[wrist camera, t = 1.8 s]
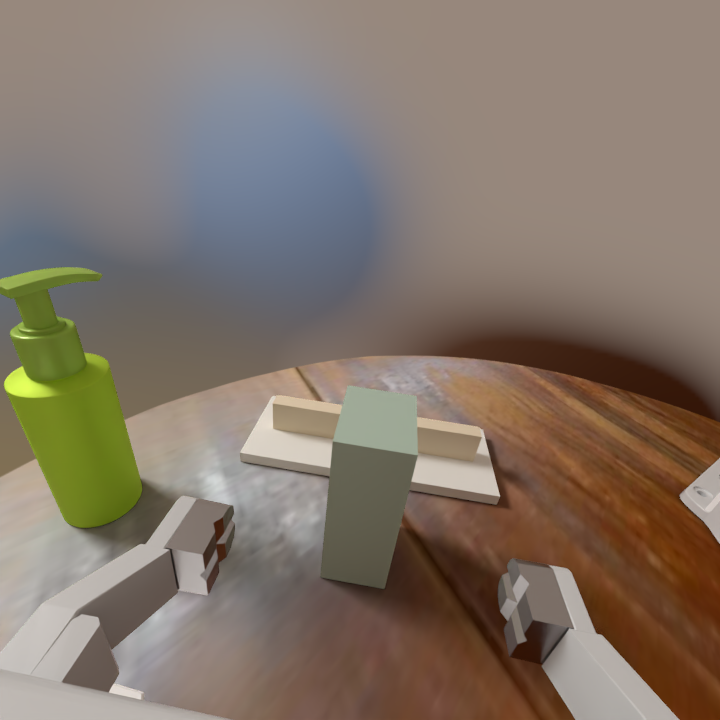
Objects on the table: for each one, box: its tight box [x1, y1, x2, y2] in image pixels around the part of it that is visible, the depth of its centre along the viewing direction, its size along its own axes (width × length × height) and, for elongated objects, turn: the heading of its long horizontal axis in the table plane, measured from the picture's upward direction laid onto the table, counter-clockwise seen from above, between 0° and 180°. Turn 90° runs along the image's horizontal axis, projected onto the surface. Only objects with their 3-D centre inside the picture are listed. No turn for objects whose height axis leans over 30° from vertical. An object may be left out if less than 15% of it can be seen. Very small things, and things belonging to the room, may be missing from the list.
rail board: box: [240, 395, 500, 505], centre depth 40 cm, size 26×10×5 cm, turn 83°
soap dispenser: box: [0, 267, 142, 528], centre depth 28 cm, size 6×7×20 cm
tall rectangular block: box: [320, 385, 418, 589], centre depth 27 cm, size 5×6×14 cm
